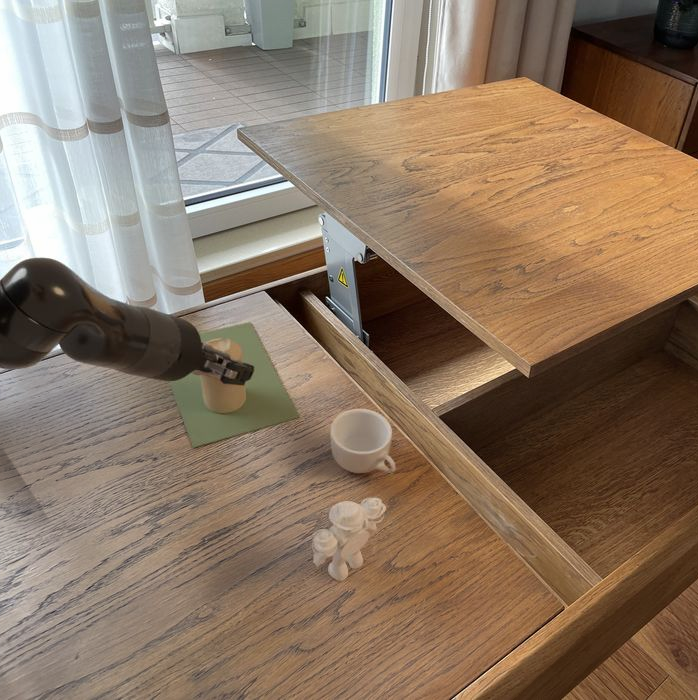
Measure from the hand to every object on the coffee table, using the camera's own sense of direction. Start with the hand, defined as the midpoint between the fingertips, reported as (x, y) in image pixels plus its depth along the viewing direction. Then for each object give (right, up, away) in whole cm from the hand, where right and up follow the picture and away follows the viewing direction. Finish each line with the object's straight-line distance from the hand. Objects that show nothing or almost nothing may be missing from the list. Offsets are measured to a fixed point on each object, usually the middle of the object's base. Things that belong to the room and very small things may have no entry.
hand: (231, 364), depth 96 cm
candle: (-1, -5, +2) cm, 6 cm away
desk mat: (-3, -2, +5) cm, 6 cm away
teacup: (+18, -13, -3) cm, 23 cm away
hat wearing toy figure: (+18, -23, -15) cm, 33 cm away
